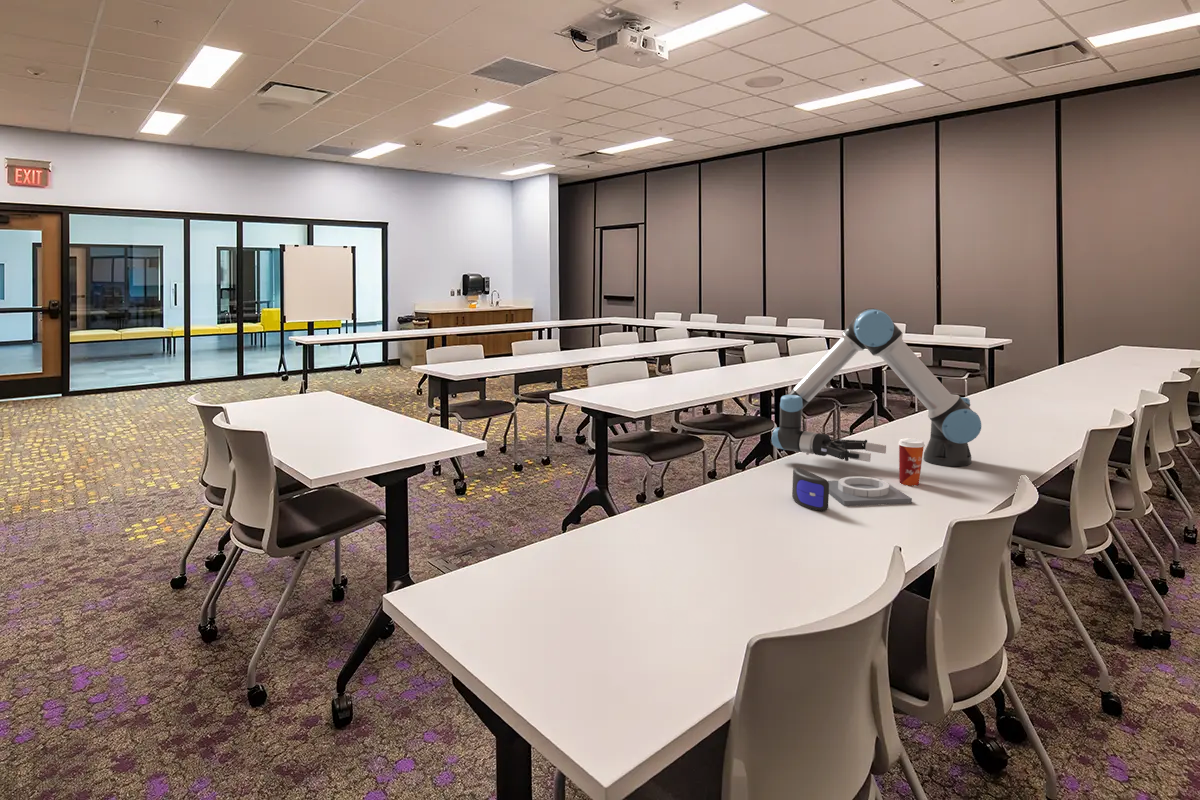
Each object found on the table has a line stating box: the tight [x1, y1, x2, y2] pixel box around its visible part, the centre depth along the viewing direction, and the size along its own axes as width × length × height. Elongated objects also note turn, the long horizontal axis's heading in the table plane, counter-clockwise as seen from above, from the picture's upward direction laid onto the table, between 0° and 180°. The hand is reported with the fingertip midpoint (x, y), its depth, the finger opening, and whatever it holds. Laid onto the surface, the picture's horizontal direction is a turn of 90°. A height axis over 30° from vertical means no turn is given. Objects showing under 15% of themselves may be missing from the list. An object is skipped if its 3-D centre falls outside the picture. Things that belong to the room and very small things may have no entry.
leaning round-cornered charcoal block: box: [791, 467, 830, 512], centre depth 201 cm, size 16×5×9 cm, turn 17°
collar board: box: [827, 475, 913, 507], centre depth 210 cm, size 20×20×4 cm
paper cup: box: [897, 437, 926, 487], centre depth 219 cm, size 8×8×14 cm
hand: (878, 453), depth 226 cm, fingers open, 13 cm apart
